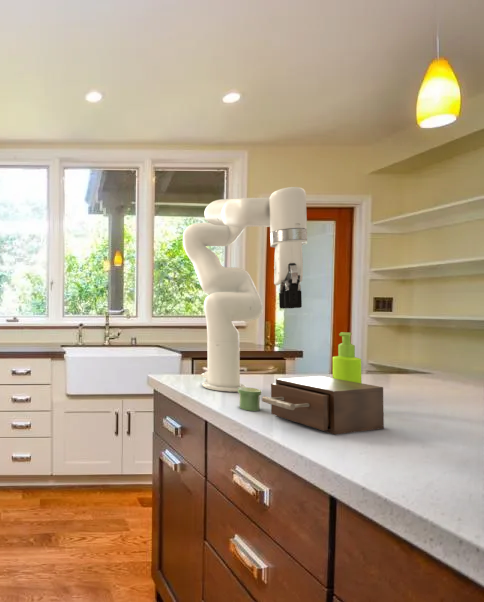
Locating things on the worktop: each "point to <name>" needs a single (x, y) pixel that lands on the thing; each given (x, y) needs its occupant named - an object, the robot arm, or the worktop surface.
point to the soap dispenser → (346, 361)
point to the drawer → (300, 405)
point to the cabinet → (346, 403)
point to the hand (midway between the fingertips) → (289, 308)
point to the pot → (249, 398)
